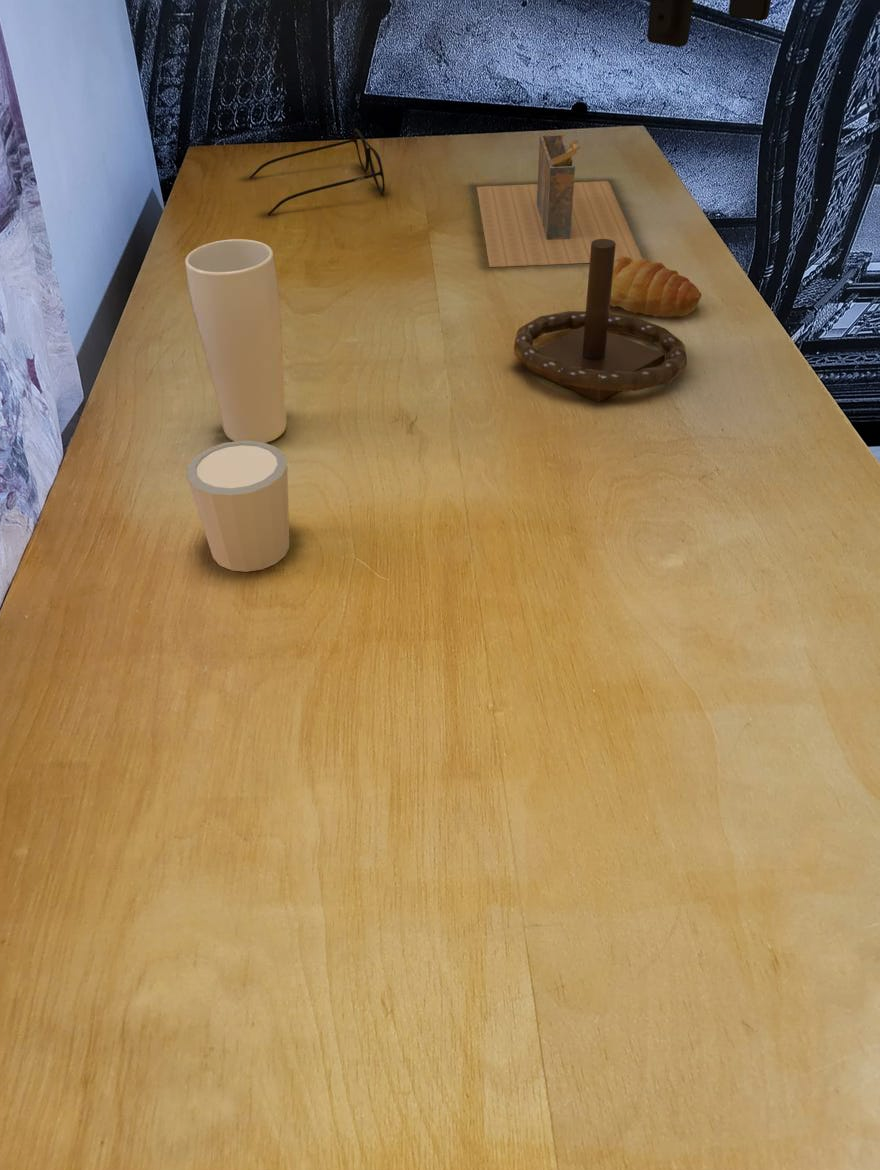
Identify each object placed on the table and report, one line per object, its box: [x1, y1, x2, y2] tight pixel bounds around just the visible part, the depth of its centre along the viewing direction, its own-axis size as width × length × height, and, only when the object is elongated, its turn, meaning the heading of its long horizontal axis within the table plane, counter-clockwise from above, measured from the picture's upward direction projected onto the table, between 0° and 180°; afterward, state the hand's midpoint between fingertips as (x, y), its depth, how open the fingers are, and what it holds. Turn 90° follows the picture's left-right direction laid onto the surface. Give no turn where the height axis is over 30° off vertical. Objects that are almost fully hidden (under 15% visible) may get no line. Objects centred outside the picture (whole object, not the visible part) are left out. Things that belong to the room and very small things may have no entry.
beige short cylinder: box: [186, 440, 290, 573], centre depth 73 cm, size 7×7×7 cm
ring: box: [513, 310, 688, 392], centre depth 93 cm, size 15×16×2 cm
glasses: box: [249, 128, 386, 216], centre depth 131 cm, size 14×15×5 cm
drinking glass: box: [184, 238, 288, 444], centre depth 83 cm, size 7×7×15 cm
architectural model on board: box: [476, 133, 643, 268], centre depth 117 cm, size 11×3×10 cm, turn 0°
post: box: [521, 239, 666, 403], centre depth 90 cm, size 9×9×11 cm
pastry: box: [610, 256, 702, 318], centre depth 101 cm, size 9×7×4 cm
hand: (708, 30), depth 77 cm, fingers open, 9 cm apart
